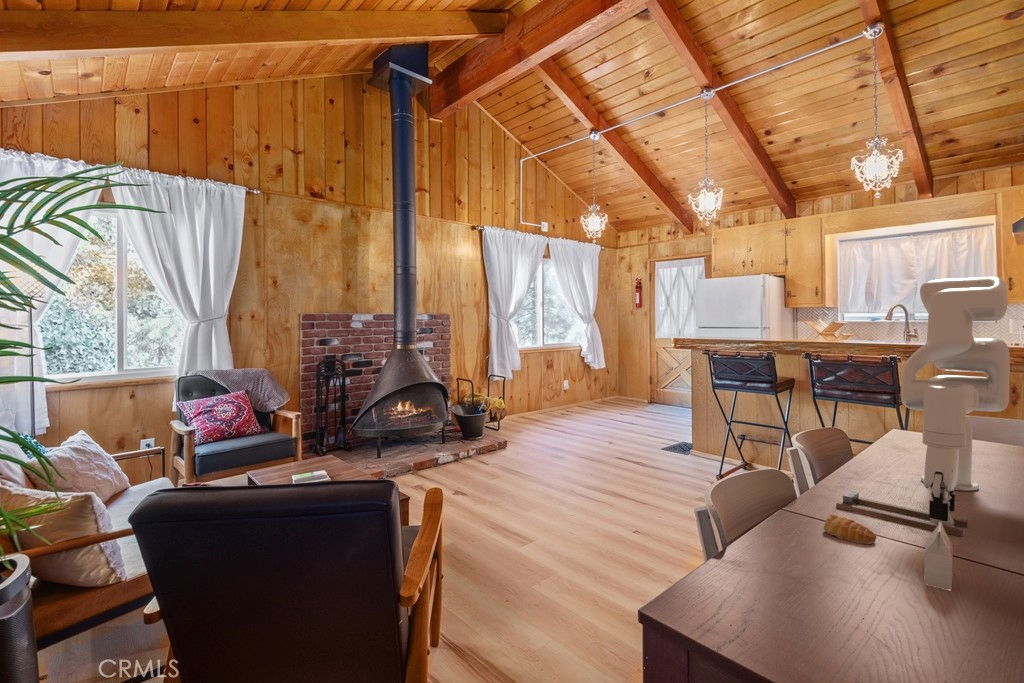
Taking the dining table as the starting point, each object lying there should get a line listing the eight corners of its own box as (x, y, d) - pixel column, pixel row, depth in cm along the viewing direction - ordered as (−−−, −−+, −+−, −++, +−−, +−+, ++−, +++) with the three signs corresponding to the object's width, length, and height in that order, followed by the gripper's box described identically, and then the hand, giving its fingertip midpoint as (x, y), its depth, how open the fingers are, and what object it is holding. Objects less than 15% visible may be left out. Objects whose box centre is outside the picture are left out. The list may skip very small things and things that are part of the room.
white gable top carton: (924, 584, 90) (925, 529, 90) (926, 570, 96) (927, 518, 95) (951, 591, 88) (952, 535, 88) (951, 577, 93) (953, 523, 93)
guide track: (847, 499, 134) (847, 494, 134) (967, 525, 116) (968, 520, 116) (836, 507, 128) (836, 503, 128) (961, 537, 110) (961, 531, 110)
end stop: (849, 501, 132) (849, 490, 132) (858, 503, 131) (858, 492, 130) (842, 507, 128) (842, 495, 128) (851, 509, 127) (852, 497, 127)
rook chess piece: (959, 530, 113) (960, 495, 113) (936, 529, 114) (937, 494, 114) (946, 523, 118) (947, 489, 117) (924, 521, 119) (925, 488, 118)
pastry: (881, 541, 109) (882, 524, 109) (867, 549, 105) (867, 531, 105) (834, 527, 117) (835, 510, 116) (820, 534, 113) (820, 517, 113)
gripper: (930, 430, 124) (928, 501, 124) (914, 442, 112) (913, 519, 113) (971, 435, 118) (969, 509, 119) (959, 448, 107) (957, 529, 107)
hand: (942, 514), depth 116 cm, fingers open, 7 cm apart
